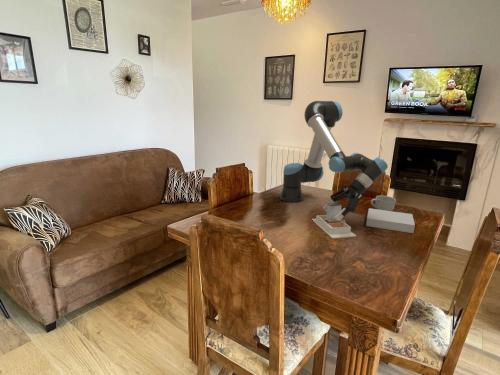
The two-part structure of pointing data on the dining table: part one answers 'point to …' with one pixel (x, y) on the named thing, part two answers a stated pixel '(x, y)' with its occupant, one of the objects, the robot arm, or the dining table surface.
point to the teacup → (384, 203)
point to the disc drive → (390, 220)
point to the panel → (333, 212)
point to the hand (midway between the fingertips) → (330, 214)
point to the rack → (334, 227)
